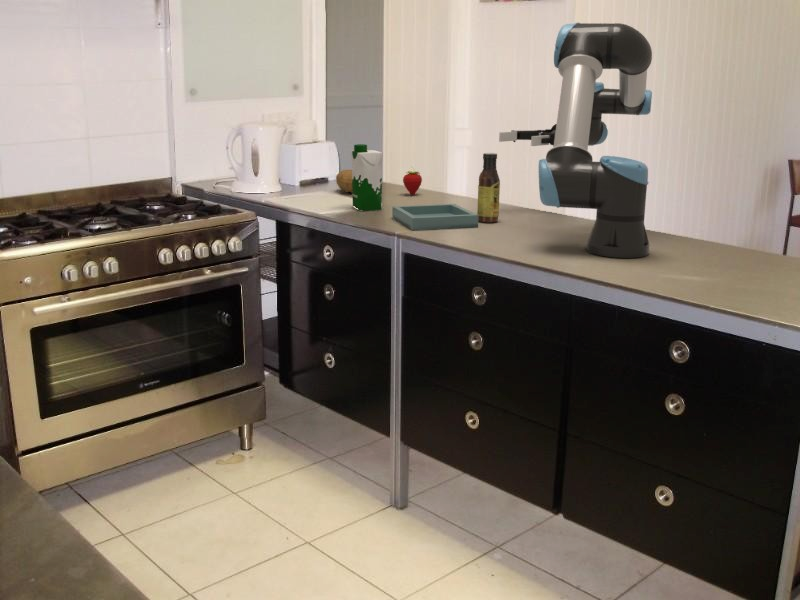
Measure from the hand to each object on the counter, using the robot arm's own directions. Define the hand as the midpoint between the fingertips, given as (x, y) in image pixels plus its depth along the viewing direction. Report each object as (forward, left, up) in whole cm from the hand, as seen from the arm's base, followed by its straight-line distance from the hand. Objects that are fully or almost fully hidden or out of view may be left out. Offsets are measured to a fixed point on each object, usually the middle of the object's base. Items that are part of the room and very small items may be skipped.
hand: (515, 139), depth 255 cm
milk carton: (+26, +38, -24) cm, 52 cm away
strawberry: (+47, +16, -24) cm, 56 cm away
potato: (+59, +35, -24) cm, 72 cm away
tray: (-1, +25, -23) cm, 35 cm away
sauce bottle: (-3, +9, -24) cm, 26 cm away
